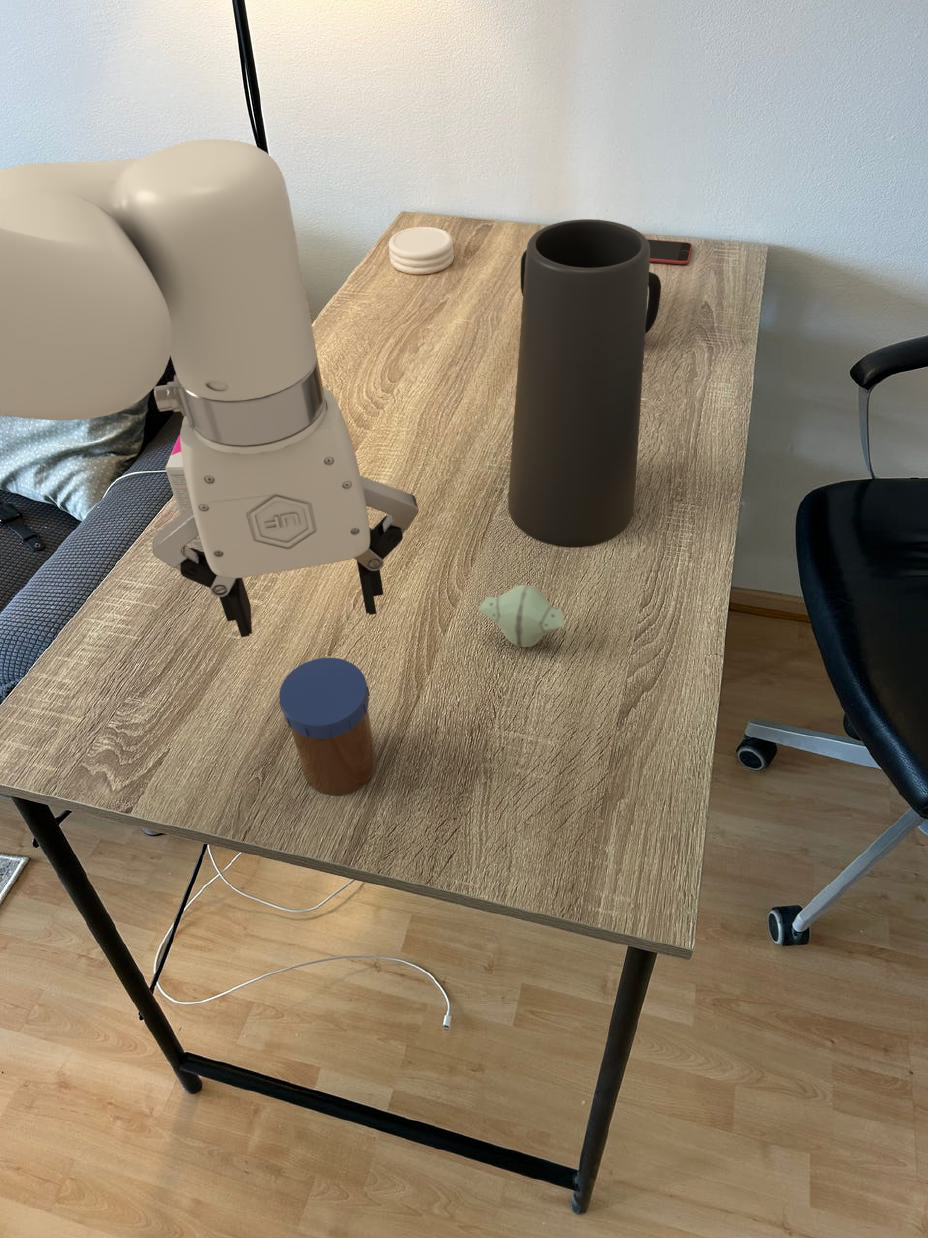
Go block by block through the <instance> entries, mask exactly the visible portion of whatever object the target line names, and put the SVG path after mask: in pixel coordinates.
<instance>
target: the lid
mask: <svg viewBox="0 0 928 1238" xmlns="http://www.w3.org/2000/svg"><path fill="white" fill-rule="evenodd" d="M278 695H279V696H278V697H279V698H278V699H279V702H278V703H279V706H280V710H281V713H282V714H283V717H284V720H285V722H286V724H288V728H290V729H291V728H292V729H293V730H294V731H296V732H297V733H299V734H301V735H303V736H306V737H307V738H308V737H310V738H316V739H326V738H332V737H336V736H339V735H342V734H344V733H346V732H348V731H349V730H352V729H353V728H354V727H355V726H356V725H357V724H358V723H359V722H360V721H361V720H362V719H363V717H364V715H365V714H367V712H366V711H367V709H368V710H369V704H370V690H369V686H368V684H367V680H366V677H365V675H364V673H363V672H362V671H361V669H360V668H358V666H356V665H355V664H353V663H352V662H350V661H347V660H346V659H342V658H338V657H319V658H315V659H312V660H311V659H310V660H308V661H306V662H304V663H301V664H300V665H298V666H296V667H295V668H294V669H292V670H291V671H290V673H288V675H287V676H286V677H285V678H284V680H283V681H282V684H281V686H280V689H279V694H278Z"/></svg>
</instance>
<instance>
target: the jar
mask: <svg viewBox="0 0 928 1238" xmlns="http://www.w3.org/2000/svg"><path fill="white" fill-rule="evenodd" d="M366 712H367V714H365V715H364V717H363V719H362V720H361V721H360V722H359V723H358V724H357V725H356V726H355V727H354V728H353V729H352V730H349V731H348V732H346V733H344V734H342V735H339V736H336V737H332V738H326V739H316V738H310V737H308V738H307V737H306V736H303V735H301V734H299V733H297V732H296V731H294V730H293V729H292V728H291V727H290V730H291V734H292V738H293V741H294V745H295V748H296V751H297V754H298V755H297V756H298V758H299V762H300V766H301V768H302V772H303V776H304V778H305V780H306V782H307V784H308V785H309V786H310V787H311V788H312V789H313V790H315V791H317V792H318V793H322V794H324V795H327V796H344V795H349V794H352V793H354V792H356V791H358V790H360V789H362V788H363V787H364V786H365V785H367V783H369V782H370V781H371V779H372V778H373V776H374V774H375V772H376V769H377V765H378V764H377V763H378V757H377V751H376V747H375V740H374V735H373V729H372V723H371V719H370V714H369V708H368V709H367V711H366Z"/></svg>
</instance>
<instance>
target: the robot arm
mask: <svg viewBox="0 0 928 1238" xmlns="http://www.w3.org/2000/svg"><path fill="white" fill-rule="evenodd" d="M290 201H291V200H290V197H289V193H288V189H287V184H286V180H285V177H284V175H283V172H282V171H281V169H280V166H279V165H278V163H277V162H276V161H275V160H274V158H272V156H270V154H268V152H267V151H264V150H263V149H261V148H260V147H257V146H256V145H254V144H251V143H248V142H245V141H238V140H231V139H200V140H192V141H186V142H181V143H177V144H173V145H170V146H167V147H164V148H161V149H158V150H156V151H154V152H152V153H150V154H148V155H146V156H145V157H139V158H129V159H117V160H116V159H115V160H98V161H96V160H95V161H67V162H65V161H64V162H63V161H62V162H42V163H28V164H27V163H26V164H20V165H19V164H18V165H15V166H10V167H6V168H3V169H0V416H4V417H13V418H21V419H30V420H31V419H32V420H40V421H41V420H43V421H62V422H63V421H81V420H82V421H83V420H92V419H97V418H102V417H106V416H110V415H111V416H112V415H114V414H116V413H119V412H121V411H123V410H127V409H129V408H131V407H132V406H134V405H135V404H136V403H138V402H140V401H142V400H143V398H145V397H146V396H147V395H148V394H149V393H150V392H151V391H152V390H153V395H154V400H155V403H156V405H157V409H158V411H159V412H167V411H173V412H174V413H177V412H180V413H181V415H182V417H183V419H182V423H181V428H180V433H179V435H180V442H181V453H182V461H183V468H184V474H185V478H186V483H187V488H188V492H189V497H190V501H191V505H192V506H190V507H189V508H188V509H187V510H186V511H184V512H183V513H182V514H181V515H180V514H179V515H178V516H177V517H176V518H174V519H173V520H172V521H170V523H169V524H168V525H166V526H165V527H164V528H162V529H161V530H160V531H159V532H157V533H156V534H155V535H154V536H153V539H152V555H153V556H154V557H155V558H157V559H158V560H160V561H162V562H163V563H165V564H166V565H168V566H169V567H171V568H173V569H177V570H178V571H180V575H181V576H182V577H184V578H186V579H188V580H190V581H192V582H194V583H197V584H200V585H202V586H204V587H206V588H209V590H210V593H211V595H212V596H214V597H217V598H219V601H220V603H221V606H222V609H223V612H224V615H225V618H226V621H227V622H233V621H235V622H236V626H237V628H238V632H239V634H240V637H241V638H247V637H250V635H251V634H253V625H252V607H251V602H250V599H249V596H248V592H247V588H246V586H245V583H244V579H243V578H250V577H251V578H252V577H255V576H256V577H257V576H263V575H269V574H275V573H283V572H288V571H294V570H298V569H305V568H311V567H317V566H323V565H329V564H335V563H339V562H345V561H349V560H352V559H353V560H355V561H356V565H357V570H358V575H359V581H360V586H361V593H362V598H363V603H364V610H365V614H368V615H369V616H374V615H377V609H376V603H375V597H379V596H384V594H385V593H384V588H383V582H382V576H381V570H382V568H383V567H384V565H385V563H384V560H385V559H386V558H387V556H389V555H390V554H391V552H392V551H393V550H394V549H396V547H397V546H398V545H399V544H400V543H401V542H402V541H403V538H404V533H405V532H406V531H408V530H409V528H410V526H411V525H412V523H413V522H414V520H415V519H416V518H417V516H418V514H419V506H418V502H417V499H416V496H415V495H414V494H412V493H409V492H407V491H404V490H401V489H399V488H395V487H392V486H389V485H386V484H384V483H381V482H378V481H376V480H373V479H370V478H367V477H365V476H362V475H361V473H360V469H359V468H360V467H359V464H358V459H357V454H356V452H355V448H354V443H353V440H352V437H351V434H350V432H349V429H348V425H347V423H346V420H345V418H344V415H343V413H342V410H341V408H340V405H339V403H338V402H337V399H336V397H335V395H334V394H333V392H331V391H330V390H329V389H328V388H326V387H324V386H323V381H322V376H321V369H320V365H319V358H318V352H317V346H316V341H315V335H314V331H313V325H312V319H311V313H310V308H309V302H308V297H307V292H306V285H305V281H304V274H303V270H302V269H303V268H302V263H301V259H300V253H299V247H298V242H297V236H296V231H295V224H294V219H293V213H292V208H291V202H290ZM170 358H171V362H172V365H173V369H174V371H175V374H174V375H173V381H167V383H166V384H165V385H158V386H157V384H158V383H159V381H160V379H161V378H162V377H163V375H164V374H165V371H166V368H167V366H168V363H169V360H170ZM368 508H371V509H374V510H377V511H380V512H382V513H386V514H387V516H384V517H383V518H382V519H381V520H380V521H379V522H378V523H377V524H376V525H375V526H374V527H373V528H371V527H370V521H369V512H368ZM198 535H200V539H201V543H202V546H203V550H204V553H203V552H201V551H199V550H197V549H194V548H190V547H189V542H191V541H192V540H193V539H194V538H196V537H197V536H198Z"/></svg>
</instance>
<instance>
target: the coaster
mask: <svg viewBox="0 0 928 1238" xmlns="http://www.w3.org/2000/svg"><path fill="white" fill-rule="evenodd" d="M388 248H389V251H388V254H389V261H390V265H391V266H392V267H393V268H394V269H396V270H397V271H399V272H401V273H405V274H408V275H418V276H419V275H421V276H422V275H430V274H435V273H439V272H442V271H443V270H445V269H447V268H448V267H450V265H452V263H453V262H454V259H455V253H454V250H455V248H454V238H453V236H452V235H451V234H450V232H448V231H446V230H444V229H441V228H438V227H433V226H414V227H409V228H405V229H402V230H400V231H397V232H396V233H395V234H393V235H392V237H390V239H389V241H388Z"/></svg>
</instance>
